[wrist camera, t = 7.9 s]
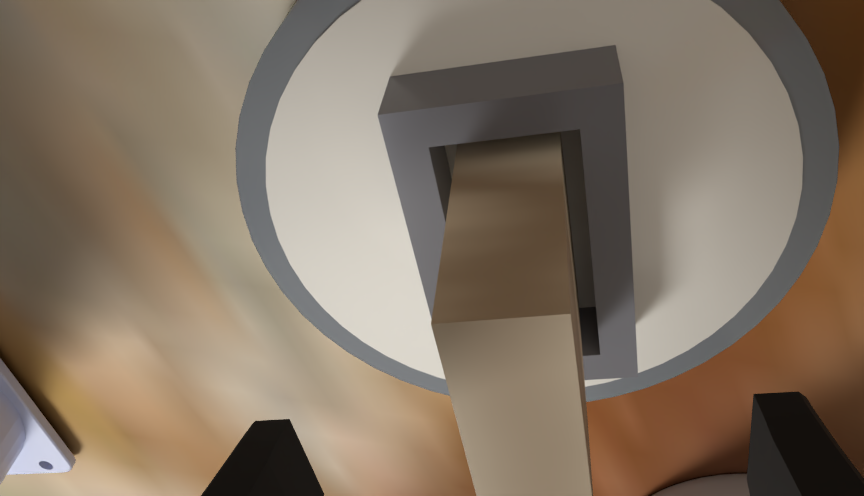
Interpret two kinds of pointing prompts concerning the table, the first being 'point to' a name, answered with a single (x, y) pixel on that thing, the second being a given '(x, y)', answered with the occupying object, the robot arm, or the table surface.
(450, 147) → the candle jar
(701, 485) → the mug
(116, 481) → the table surface
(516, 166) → the wooden plank block
